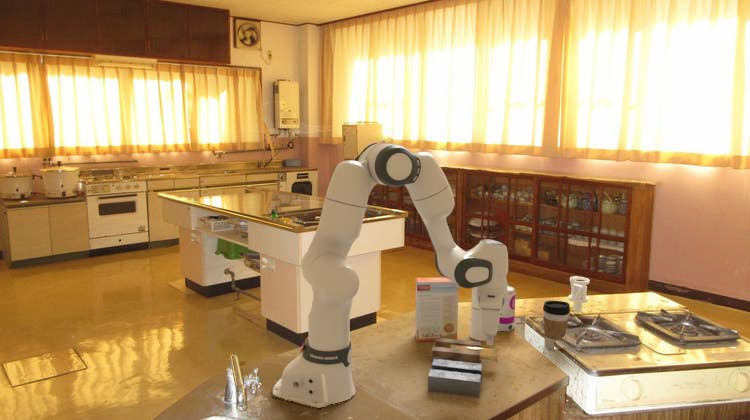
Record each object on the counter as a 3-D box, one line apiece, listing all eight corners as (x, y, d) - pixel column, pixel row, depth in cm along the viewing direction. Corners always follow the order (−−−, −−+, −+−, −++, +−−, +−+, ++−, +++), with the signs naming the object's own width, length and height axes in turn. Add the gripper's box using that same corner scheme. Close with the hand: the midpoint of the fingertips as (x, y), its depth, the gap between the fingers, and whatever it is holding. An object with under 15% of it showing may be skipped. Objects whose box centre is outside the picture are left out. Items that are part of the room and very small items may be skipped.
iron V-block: (427, 391, 150) (428, 375, 149) (433, 372, 160) (433, 358, 160) (479, 397, 146) (480, 382, 146) (481, 378, 157) (482, 363, 156)
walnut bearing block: (431, 369, 163) (431, 350, 162) (435, 355, 173) (436, 337, 172) (478, 374, 160) (479, 355, 159) (480, 360, 169) (481, 342, 168)
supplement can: (516, 326, 197) (519, 287, 194) (509, 334, 190) (511, 293, 187) (495, 322, 201) (497, 283, 199) (487, 329, 194) (488, 289, 192)
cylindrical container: (491, 341, 183) (494, 270, 179) (470, 339, 185) (472, 268, 181) (491, 333, 190) (494, 264, 186) (470, 332, 192) (473, 263, 188)
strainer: (564, 311, 213) (566, 274, 211) (579, 309, 215) (582, 273, 213) (574, 317, 207) (577, 279, 204) (590, 316, 208) (593, 278, 206)
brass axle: (449, 358, 164) (449, 346, 164) (450, 354, 168) (451, 342, 167) (496, 363, 161) (497, 351, 161) (497, 359, 165) (497, 347, 164)
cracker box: (454, 334, 190) (456, 276, 186) (457, 341, 184) (459, 281, 180) (414, 334, 189) (415, 276, 186) (416, 341, 183) (417, 281, 180)
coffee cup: (564, 353, 174) (567, 309, 172) (537, 348, 179) (540, 304, 176) (570, 344, 181) (573, 301, 179) (544, 339, 186) (547, 297, 183)
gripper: (482, 282, 171) (481, 324, 173) (479, 304, 151) (477, 351, 154) (503, 284, 169) (502, 326, 172) (502, 306, 150) (500, 353, 152)
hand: (490, 338), depth 162 cm, fingers open, 8 cm apart
